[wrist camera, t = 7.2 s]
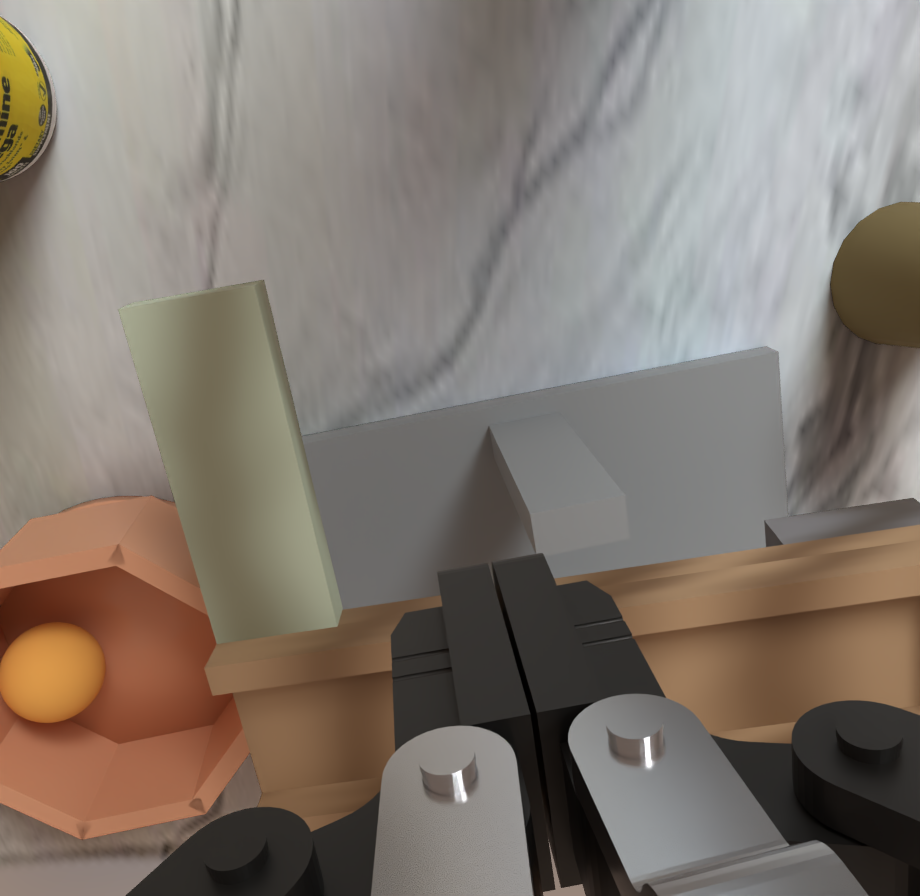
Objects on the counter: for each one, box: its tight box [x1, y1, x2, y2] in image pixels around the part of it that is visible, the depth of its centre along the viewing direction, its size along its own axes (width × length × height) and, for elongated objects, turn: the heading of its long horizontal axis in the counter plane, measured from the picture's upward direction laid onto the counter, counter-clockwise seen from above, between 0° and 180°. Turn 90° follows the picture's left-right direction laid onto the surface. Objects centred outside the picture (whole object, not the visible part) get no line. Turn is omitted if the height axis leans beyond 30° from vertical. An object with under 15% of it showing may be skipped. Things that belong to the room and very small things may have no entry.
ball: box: [0, 622, 106, 723], centre depth 36 cm, size 4×4×4 cm
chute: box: [118, 280, 920, 832], centre depth 28 cm, size 24×18×4 cm
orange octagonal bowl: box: [0, 495, 250, 840], centre depth 36 cm, size 12×12×6 cm
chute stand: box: [302, 347, 788, 610], centre depth 34 cm, size 22×14×11 cm, turn 100°
